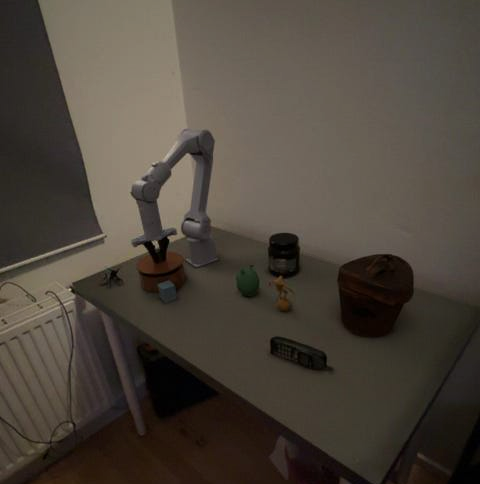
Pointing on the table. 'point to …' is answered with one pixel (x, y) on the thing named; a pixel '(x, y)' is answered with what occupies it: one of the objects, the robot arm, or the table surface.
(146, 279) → the pot
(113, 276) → the creature
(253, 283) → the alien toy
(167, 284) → the block
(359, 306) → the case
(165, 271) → the lid
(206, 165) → the robot arm
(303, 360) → the mobile phone
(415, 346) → the table surface
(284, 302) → the figurine
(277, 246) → the supplement container
